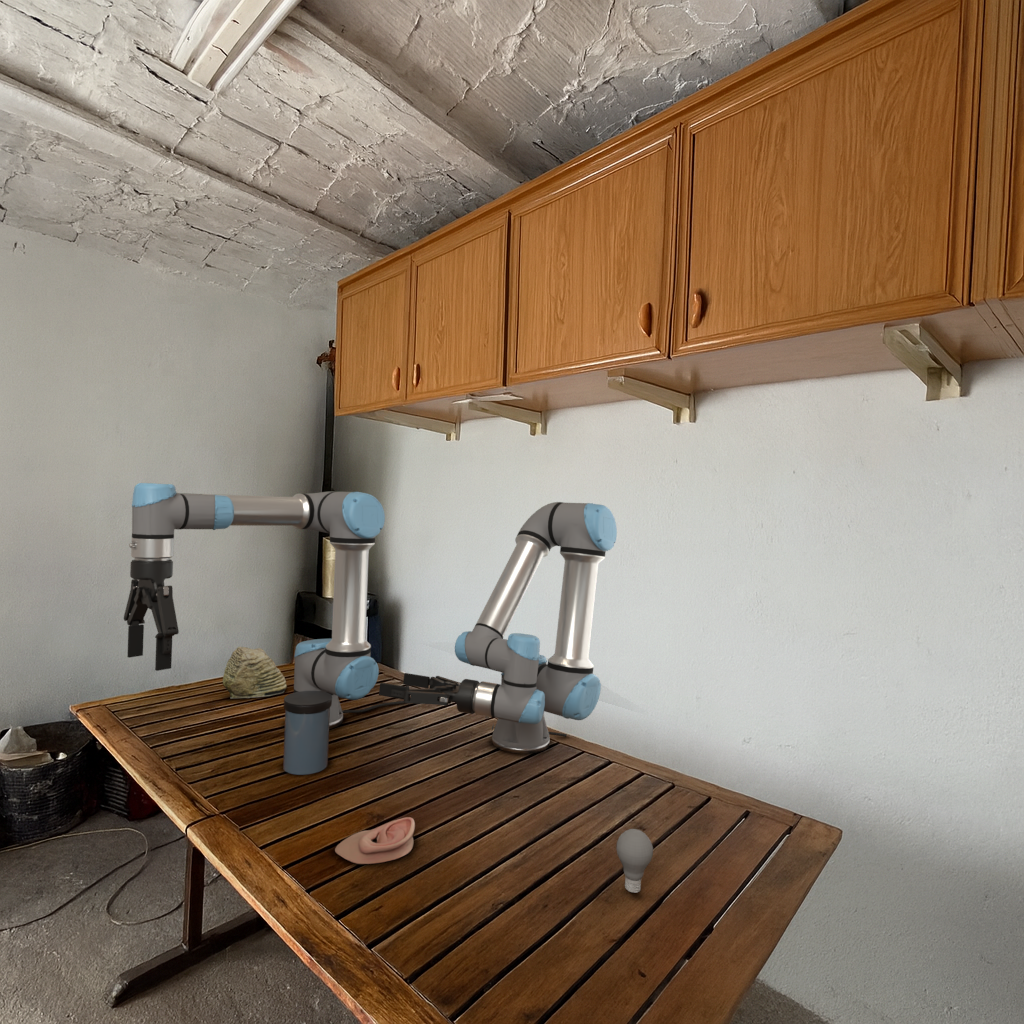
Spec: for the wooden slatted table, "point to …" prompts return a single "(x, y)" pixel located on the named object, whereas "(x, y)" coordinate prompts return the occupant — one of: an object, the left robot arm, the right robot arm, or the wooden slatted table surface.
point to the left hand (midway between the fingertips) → (148, 662)
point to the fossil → (252, 674)
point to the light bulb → (634, 857)
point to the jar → (306, 742)
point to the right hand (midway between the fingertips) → (392, 683)
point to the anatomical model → (379, 843)
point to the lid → (307, 702)
